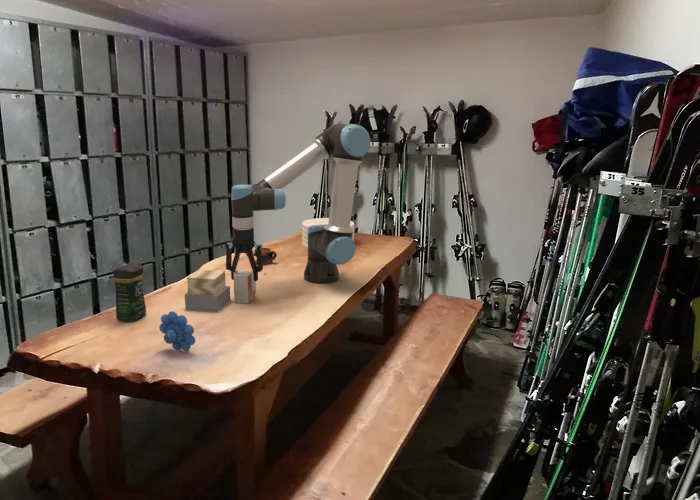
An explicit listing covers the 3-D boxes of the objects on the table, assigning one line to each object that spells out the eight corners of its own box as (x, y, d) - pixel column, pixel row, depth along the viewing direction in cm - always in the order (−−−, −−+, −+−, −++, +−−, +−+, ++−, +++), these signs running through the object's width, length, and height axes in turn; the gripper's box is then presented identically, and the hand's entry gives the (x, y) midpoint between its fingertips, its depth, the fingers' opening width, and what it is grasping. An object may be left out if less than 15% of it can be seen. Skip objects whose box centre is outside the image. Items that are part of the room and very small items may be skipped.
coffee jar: (133, 323, 177) (129, 269, 173) (112, 321, 179) (107, 267, 174) (150, 313, 186) (146, 261, 182) (130, 311, 188) (125, 260, 183)
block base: (230, 301, 200) (229, 286, 199) (217, 312, 189) (217, 296, 188) (199, 299, 202) (199, 284, 201) (185, 310, 191) (184, 294, 189)
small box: (248, 304, 197) (247, 276, 195) (233, 302, 198) (233, 275, 196) (256, 297, 205) (255, 270, 202) (242, 295, 206) (241, 269, 204)
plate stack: (305, 237, 305) (305, 217, 302) (354, 238, 304) (355, 218, 302) (299, 249, 278) (298, 227, 275) (353, 250, 277) (353, 229, 274)
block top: (225, 286, 198) (224, 271, 197) (215, 295, 189) (214, 279, 187) (199, 285, 200) (198, 269, 198) (188, 293, 190) (187, 277, 189)
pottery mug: (249, 266, 248) (249, 249, 250) (259, 270, 256) (258, 253, 259) (273, 261, 244) (272, 244, 246) (282, 265, 253) (281, 249, 255)
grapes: (152, 353, 156) (149, 314, 153) (166, 344, 162) (163, 306, 159) (186, 359, 153) (184, 319, 150) (200, 350, 159) (198, 311, 156)
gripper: (271, 227, 197) (272, 287, 203) (222, 224, 200) (224, 283, 206) (265, 231, 190) (266, 293, 196) (214, 228, 193) (216, 290, 199)
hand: (245, 288), depth 201 cm, fingers open, 6 cm apart
